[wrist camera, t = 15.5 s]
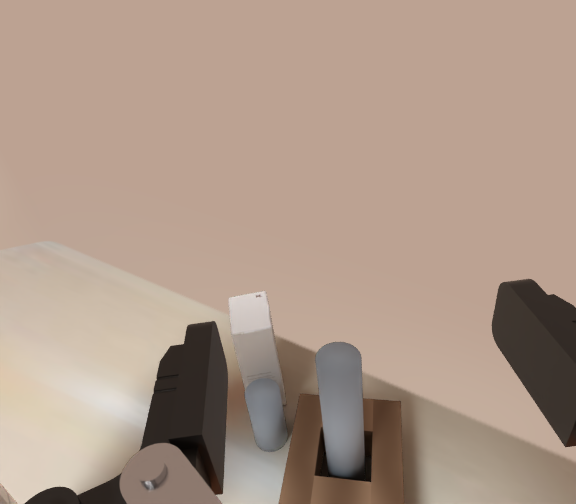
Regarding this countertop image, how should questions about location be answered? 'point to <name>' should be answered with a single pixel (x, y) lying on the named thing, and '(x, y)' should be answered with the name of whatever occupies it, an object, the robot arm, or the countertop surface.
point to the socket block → (311, 446)
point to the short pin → (266, 414)
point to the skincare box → (255, 339)
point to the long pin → (342, 409)
